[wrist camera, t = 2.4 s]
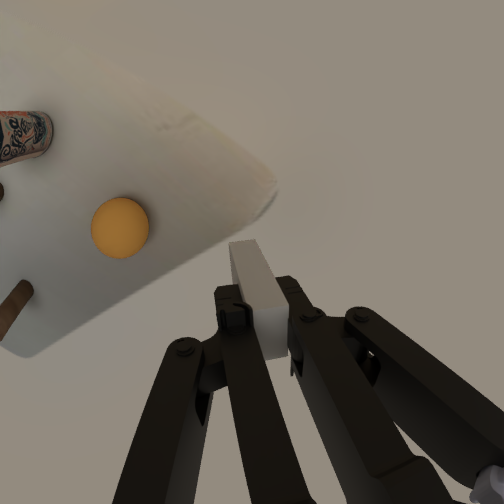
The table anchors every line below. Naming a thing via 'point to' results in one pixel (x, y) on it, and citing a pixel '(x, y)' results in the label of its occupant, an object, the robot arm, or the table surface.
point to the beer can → (23, 135)
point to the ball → (119, 228)
